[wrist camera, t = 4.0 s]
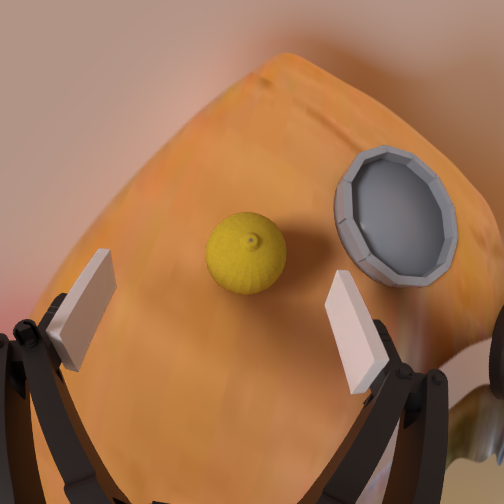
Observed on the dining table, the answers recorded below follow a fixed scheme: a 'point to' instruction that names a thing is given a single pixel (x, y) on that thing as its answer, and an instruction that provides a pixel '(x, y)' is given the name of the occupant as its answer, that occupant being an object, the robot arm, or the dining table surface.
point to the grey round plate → (395, 218)
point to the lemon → (246, 253)
